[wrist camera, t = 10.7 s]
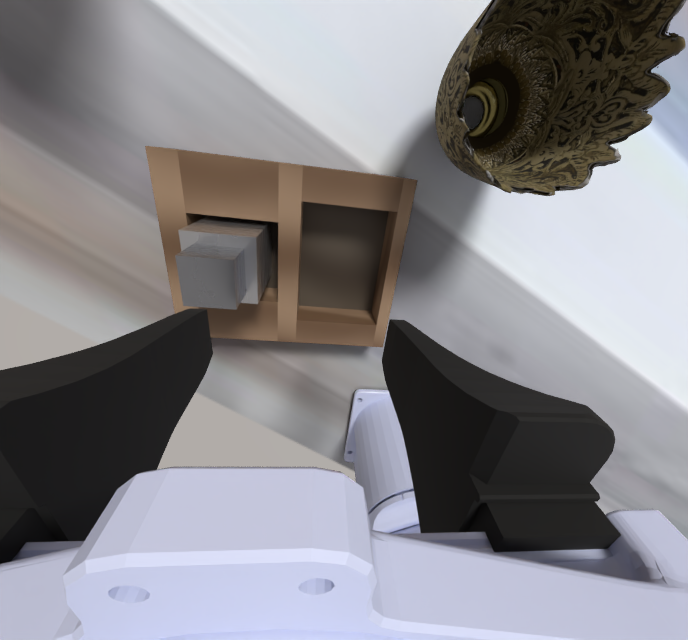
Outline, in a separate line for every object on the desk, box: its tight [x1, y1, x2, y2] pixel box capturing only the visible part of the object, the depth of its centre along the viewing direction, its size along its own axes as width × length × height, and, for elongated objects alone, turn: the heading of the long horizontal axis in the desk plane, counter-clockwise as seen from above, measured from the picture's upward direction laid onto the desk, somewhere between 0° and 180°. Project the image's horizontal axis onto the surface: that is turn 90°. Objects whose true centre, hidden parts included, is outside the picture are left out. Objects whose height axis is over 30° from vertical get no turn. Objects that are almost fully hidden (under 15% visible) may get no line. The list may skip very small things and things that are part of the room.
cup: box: [435, 0, 686, 196], centre depth 13 cm, size 8×7×8 cm
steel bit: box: [175, 215, 272, 310], centre depth 16 cm, size 4×4×7 cm
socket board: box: [145, 146, 417, 347], centre depth 19 cm, size 11×14×2 cm
